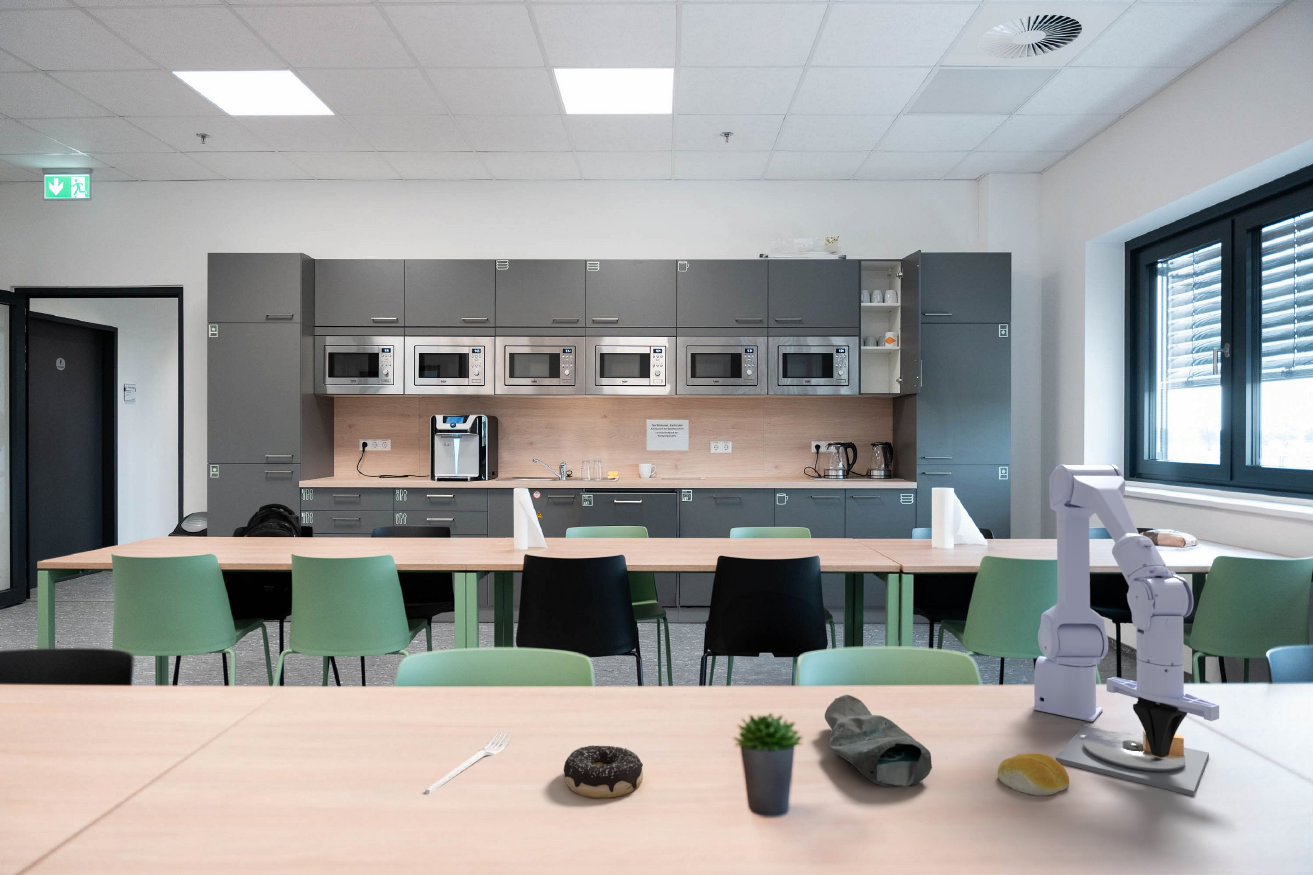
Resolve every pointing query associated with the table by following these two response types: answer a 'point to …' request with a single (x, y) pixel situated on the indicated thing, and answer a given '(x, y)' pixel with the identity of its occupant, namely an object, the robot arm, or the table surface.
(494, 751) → the fork
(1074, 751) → the base plate
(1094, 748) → the handwheel
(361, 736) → the table surface
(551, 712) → the table surface
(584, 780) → the donut
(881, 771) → the crumpled grey pouch
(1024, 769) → the bread roll
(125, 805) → the table surface
